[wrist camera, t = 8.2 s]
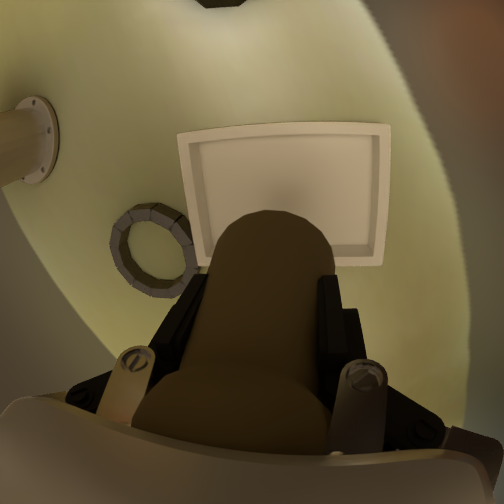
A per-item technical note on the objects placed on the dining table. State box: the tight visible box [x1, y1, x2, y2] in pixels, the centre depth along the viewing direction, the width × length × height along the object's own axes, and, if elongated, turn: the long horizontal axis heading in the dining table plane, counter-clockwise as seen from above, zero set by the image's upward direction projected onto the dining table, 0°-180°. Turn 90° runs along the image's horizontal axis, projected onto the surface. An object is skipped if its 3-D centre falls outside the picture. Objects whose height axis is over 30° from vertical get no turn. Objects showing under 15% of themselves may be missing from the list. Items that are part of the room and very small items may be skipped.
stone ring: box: [109, 203, 201, 298], centre depth 31 cm, size 11×11×2 cm
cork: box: [131, 210, 335, 456], centre depth 9 cm, size 6×6×11 cm
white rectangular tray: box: [177, 121, 391, 266], centre depth 25 cm, size 18×13×3 cm
